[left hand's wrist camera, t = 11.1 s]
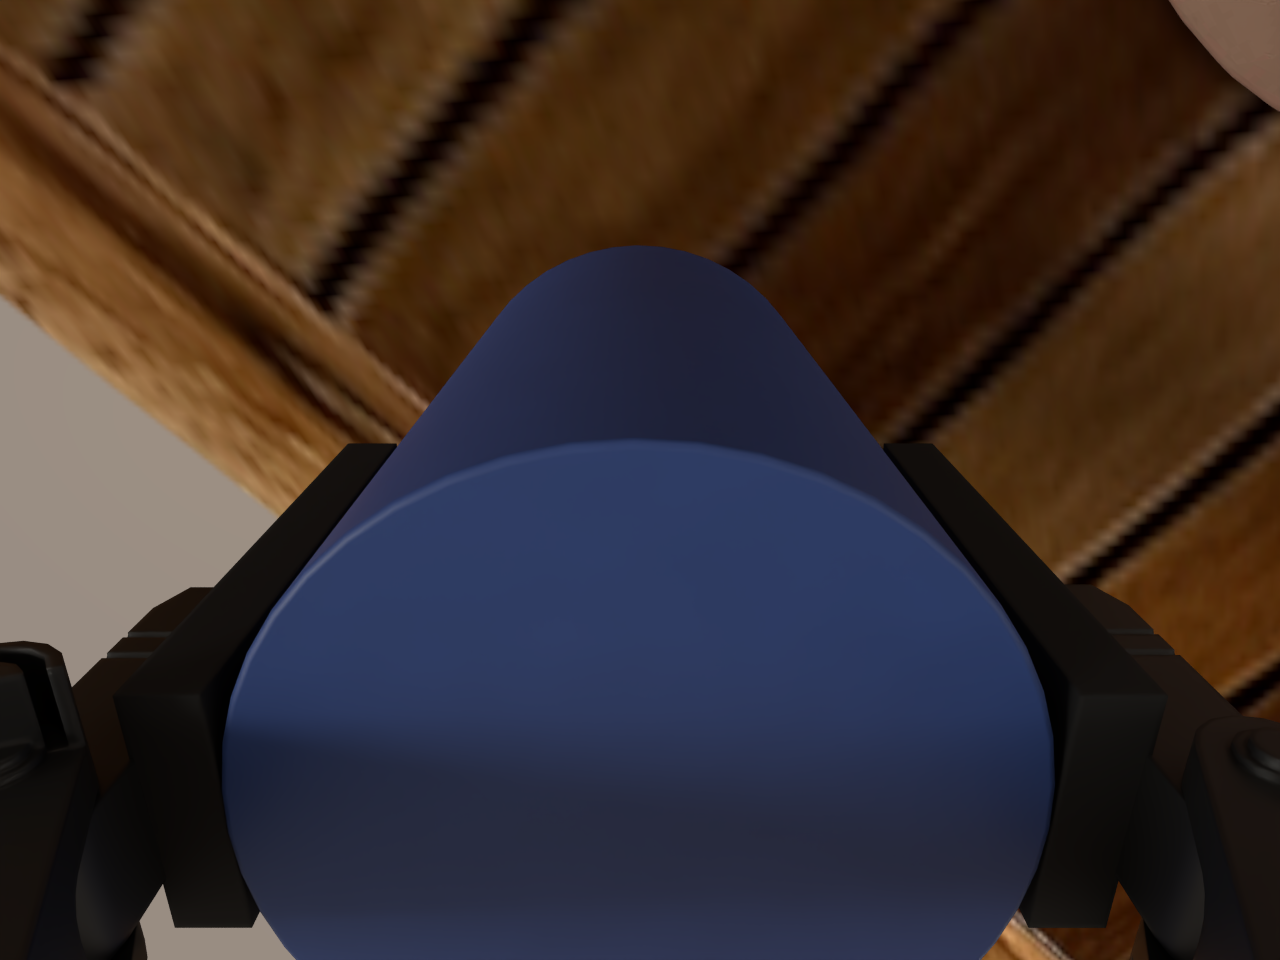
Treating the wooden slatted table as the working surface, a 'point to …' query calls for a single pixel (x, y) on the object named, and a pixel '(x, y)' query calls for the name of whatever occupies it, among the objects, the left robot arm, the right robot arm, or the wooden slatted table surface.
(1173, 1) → the anatomical model
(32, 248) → the wooden slatted table surface
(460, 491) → the canister
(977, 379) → the wooden slatted table surface
